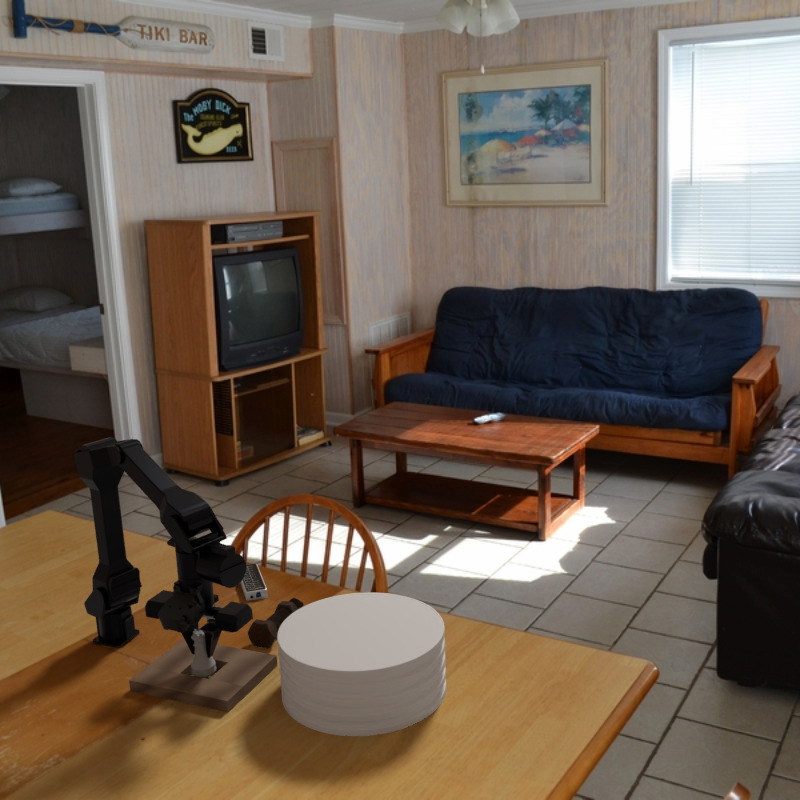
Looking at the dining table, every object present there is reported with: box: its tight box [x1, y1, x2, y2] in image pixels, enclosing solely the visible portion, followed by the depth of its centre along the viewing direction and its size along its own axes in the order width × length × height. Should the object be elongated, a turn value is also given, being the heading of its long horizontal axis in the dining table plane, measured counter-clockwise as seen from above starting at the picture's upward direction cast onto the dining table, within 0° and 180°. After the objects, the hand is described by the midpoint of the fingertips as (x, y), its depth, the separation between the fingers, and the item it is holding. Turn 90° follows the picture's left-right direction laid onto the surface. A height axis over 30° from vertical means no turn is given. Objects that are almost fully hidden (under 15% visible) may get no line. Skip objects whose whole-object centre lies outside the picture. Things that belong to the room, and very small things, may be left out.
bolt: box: [247, 597, 305, 649], centre depth 190 cm, size 6×5×15 cm
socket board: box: [128, 637, 278, 713], centre depth 173 cm, size 20×16×2 cm
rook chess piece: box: [191, 627, 217, 678], centre depth 172 cm, size 4×4×8 cm
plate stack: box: [276, 591, 447, 737], centre depth 166 cm, size 28×28×12 cm
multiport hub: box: [239, 563, 268, 602], centre depth 210 cm, size 4×14×2 cm, turn 17°
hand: (202, 655), depth 172 cm, fingers open, 3 cm apart
